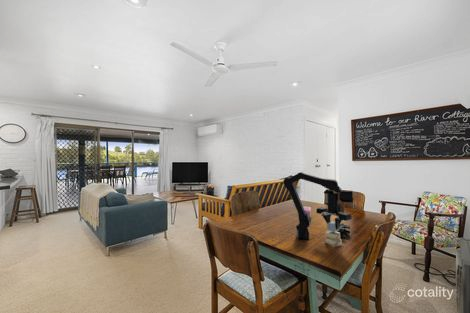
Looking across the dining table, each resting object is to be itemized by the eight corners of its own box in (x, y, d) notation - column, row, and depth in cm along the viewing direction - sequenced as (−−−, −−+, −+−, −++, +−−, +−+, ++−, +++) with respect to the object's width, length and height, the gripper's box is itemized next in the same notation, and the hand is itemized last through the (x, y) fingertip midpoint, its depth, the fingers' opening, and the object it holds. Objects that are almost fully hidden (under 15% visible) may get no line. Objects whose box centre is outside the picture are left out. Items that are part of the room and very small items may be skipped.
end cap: (339, 232, 133) (339, 222, 134) (350, 235, 128) (350, 224, 128) (331, 235, 128) (331, 225, 128) (343, 239, 122) (342, 228, 122)
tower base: (333, 247, 112) (333, 241, 112) (325, 243, 117) (325, 237, 117) (341, 245, 114) (341, 239, 114) (333, 241, 119) (333, 235, 119)
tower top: (335, 241, 112) (335, 235, 112) (325, 238, 116) (325, 232, 116) (340, 238, 115) (340, 232, 115) (330, 235, 120) (330, 229, 120)
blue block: (334, 232, 112) (334, 225, 112) (327, 229, 116) (327, 222, 116) (339, 230, 115) (339, 223, 115) (332, 228, 119) (331, 221, 119)
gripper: (357, 202, 112) (357, 230, 111) (327, 197, 128) (327, 221, 128) (345, 205, 106) (345, 234, 106) (315, 199, 122) (316, 224, 122)
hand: (333, 228), depth 116 cm, fingers closed on blue block, 4 cm apart
